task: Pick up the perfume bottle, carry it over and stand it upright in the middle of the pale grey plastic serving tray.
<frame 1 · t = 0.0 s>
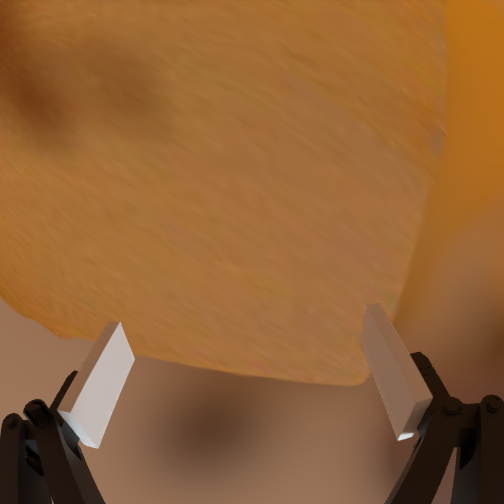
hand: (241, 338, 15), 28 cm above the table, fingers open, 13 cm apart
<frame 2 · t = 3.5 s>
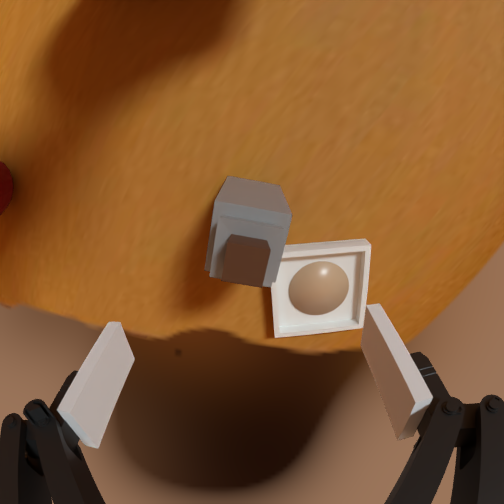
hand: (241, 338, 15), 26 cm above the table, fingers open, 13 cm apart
perfume bottle: (249, 205, 40), on the table
tray: (318, 286, 44), on the table
apple: (5, 182, 38), on the table
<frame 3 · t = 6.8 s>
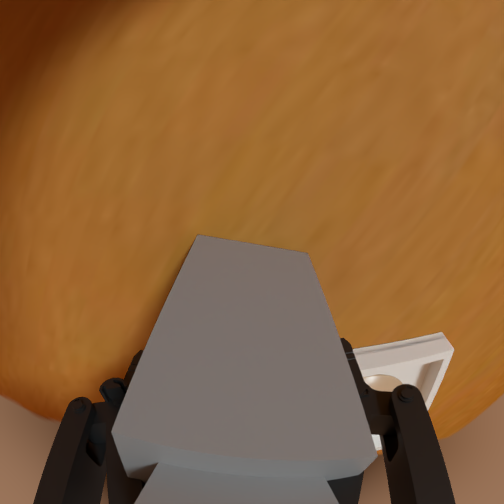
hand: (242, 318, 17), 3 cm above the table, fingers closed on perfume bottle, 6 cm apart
perfume bottle: (244, 290, 20), on the table, touching gripper
tray: (357, 401, 24), on the table
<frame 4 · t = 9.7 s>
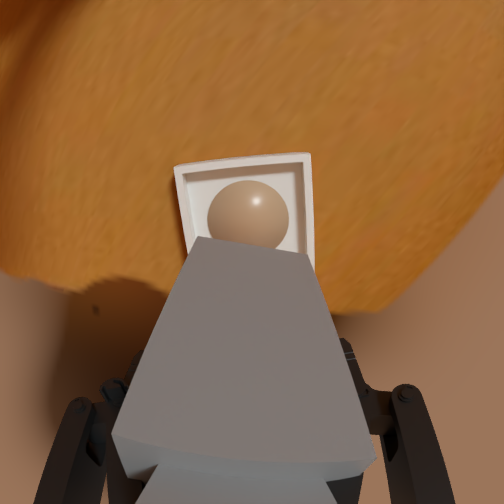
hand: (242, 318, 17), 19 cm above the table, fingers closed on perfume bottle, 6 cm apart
perfume bottle: (243, 291, 20), point 16 cm above the table, touching gripper
tray: (248, 218, 34), on the table
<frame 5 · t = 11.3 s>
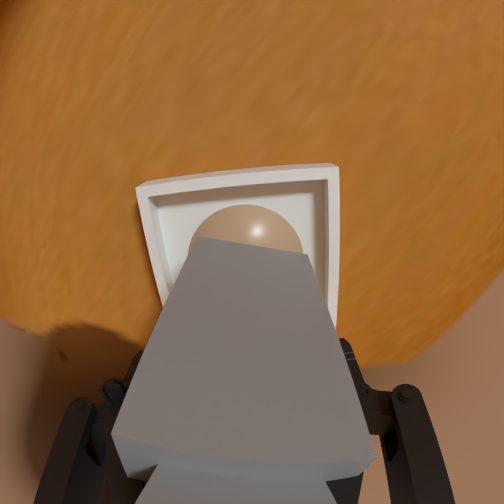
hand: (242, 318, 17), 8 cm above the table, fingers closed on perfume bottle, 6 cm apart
perfume bottle: (243, 291, 20), point 5 cm above the table, touching gripper
tray: (245, 256, 25), on the table
when the fingers open (5 cm above the table, at t = 12.7 s): perfume bottle drops 1 cm, resting on tray.
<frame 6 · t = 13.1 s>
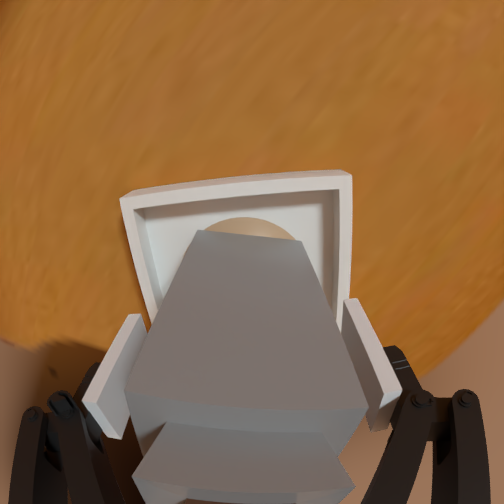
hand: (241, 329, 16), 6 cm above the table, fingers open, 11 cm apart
perfume bottle: (244, 280, 21), point 1 cm above the table, touching tray
tray: (245, 274, 22), on the table
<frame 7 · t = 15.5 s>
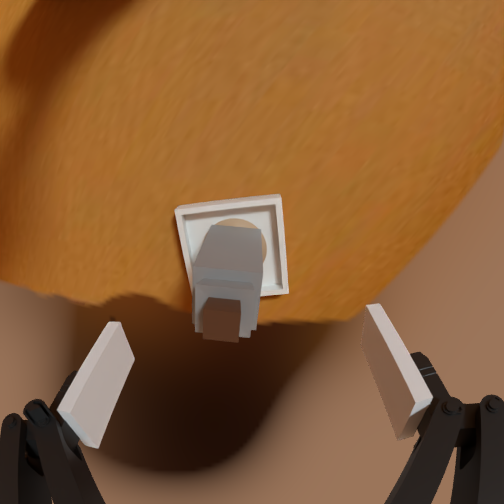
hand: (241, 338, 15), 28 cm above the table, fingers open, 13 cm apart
perfume bottle: (234, 249, 43), point 1 cm above the table, touching tray
tray: (234, 247, 44), on the table
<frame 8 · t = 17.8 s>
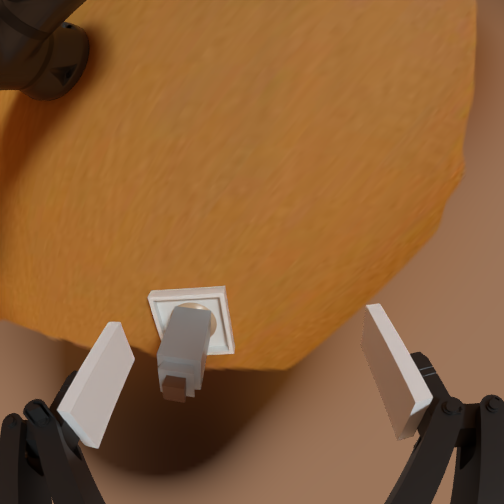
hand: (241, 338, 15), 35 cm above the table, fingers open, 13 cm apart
perfume bottle: (193, 322, 56), point 1 cm above the table, touching tray
tray: (194, 319, 57), on the table
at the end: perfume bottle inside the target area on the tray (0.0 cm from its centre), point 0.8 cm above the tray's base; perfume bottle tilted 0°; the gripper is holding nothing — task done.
